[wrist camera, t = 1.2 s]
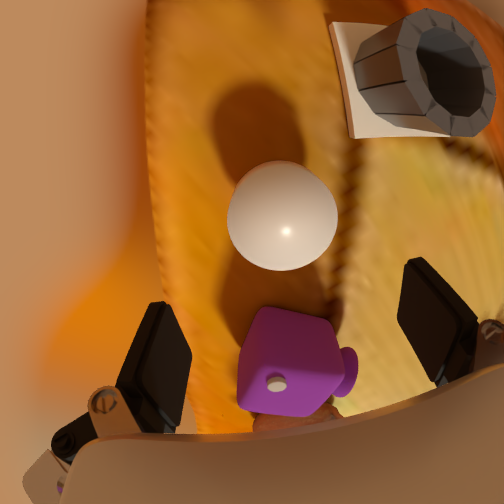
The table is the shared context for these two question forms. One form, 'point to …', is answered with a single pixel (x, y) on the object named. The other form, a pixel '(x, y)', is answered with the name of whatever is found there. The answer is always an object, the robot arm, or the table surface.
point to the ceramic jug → (295, 419)
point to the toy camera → (292, 364)
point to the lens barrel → (413, 77)
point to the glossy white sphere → (281, 216)
